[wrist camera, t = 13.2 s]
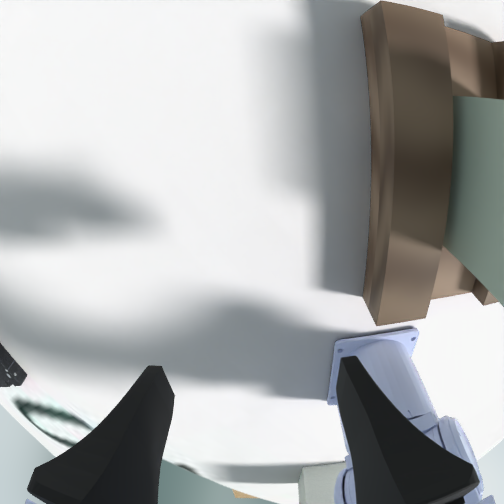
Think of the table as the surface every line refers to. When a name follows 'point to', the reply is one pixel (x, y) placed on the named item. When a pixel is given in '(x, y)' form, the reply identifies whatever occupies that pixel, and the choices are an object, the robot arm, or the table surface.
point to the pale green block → (478, 191)
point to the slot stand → (417, 154)
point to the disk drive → (10, 370)
